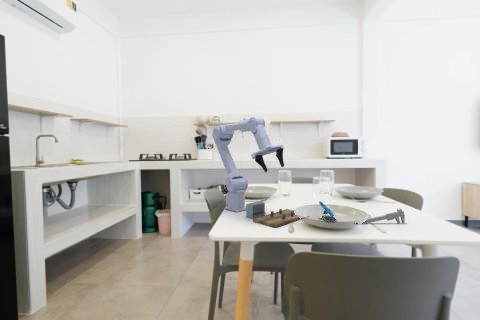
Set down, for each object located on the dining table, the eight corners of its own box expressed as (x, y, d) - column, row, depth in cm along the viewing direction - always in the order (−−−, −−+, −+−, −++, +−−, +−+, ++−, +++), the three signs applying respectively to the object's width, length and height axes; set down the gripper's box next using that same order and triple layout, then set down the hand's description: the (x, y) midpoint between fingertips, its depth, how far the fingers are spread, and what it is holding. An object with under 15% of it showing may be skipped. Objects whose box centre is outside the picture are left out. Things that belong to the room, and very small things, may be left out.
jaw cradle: (253, 221, 110) (253, 214, 110) (287, 211, 126) (287, 204, 126) (275, 228, 101) (275, 220, 101) (309, 216, 118) (309, 209, 118)
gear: (338, 219, 106) (320, 200, 109) (327, 228, 108) (310, 210, 111) (338, 216, 117) (322, 199, 120) (328, 225, 118) (312, 207, 121)
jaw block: (246, 217, 117) (246, 204, 116) (258, 214, 122) (258, 201, 122) (252, 219, 114) (252, 205, 114) (264, 215, 120) (264, 202, 119)
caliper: (402, 223, 107) (403, 208, 107) (404, 224, 106) (405, 208, 106) (353, 224, 106) (353, 209, 106) (354, 225, 105) (355, 209, 105)
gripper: (248, 141, 110) (260, 170, 105) (280, 132, 113) (292, 160, 108) (247, 148, 116) (257, 176, 112) (276, 140, 119) (288, 166, 115)
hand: (274, 168), depth 111 cm, fingers open, 7 cm apart
